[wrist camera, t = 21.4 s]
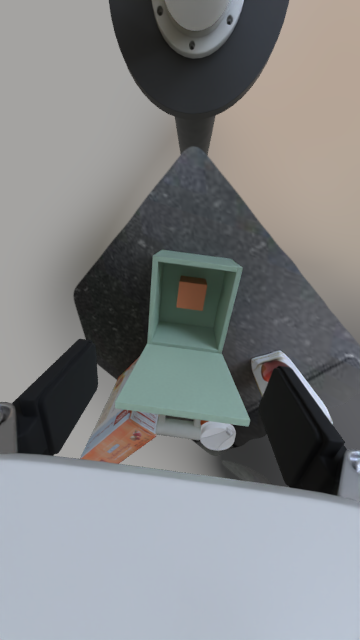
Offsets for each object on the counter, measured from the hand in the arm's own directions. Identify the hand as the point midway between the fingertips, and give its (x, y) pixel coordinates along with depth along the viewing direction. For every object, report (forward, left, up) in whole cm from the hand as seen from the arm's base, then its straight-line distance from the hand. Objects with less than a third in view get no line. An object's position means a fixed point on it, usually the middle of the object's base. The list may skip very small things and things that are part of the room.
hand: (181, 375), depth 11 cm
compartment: (+5, +1, -32) cm, 33 cm away
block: (+4, +1, -32) cm, 32 cm away
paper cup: (+30, +10, -32) cm, 45 cm away
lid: (+11, +1, -14) cm, 18 cm away
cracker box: (+26, -8, -32) cm, 42 cm away
